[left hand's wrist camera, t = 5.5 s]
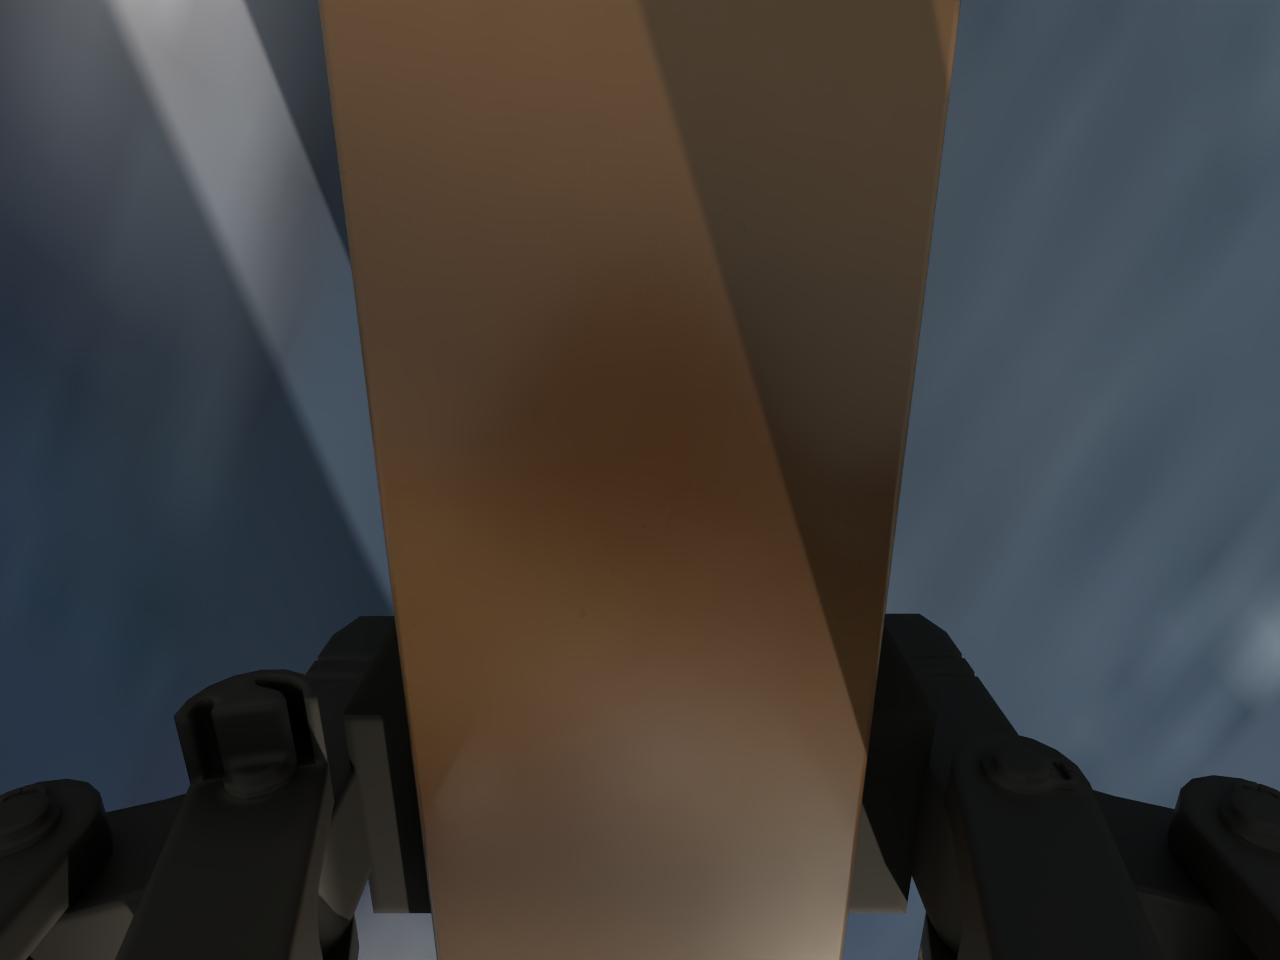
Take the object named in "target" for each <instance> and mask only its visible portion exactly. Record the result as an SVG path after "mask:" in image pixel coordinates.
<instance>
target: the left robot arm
mask: <svg viewBox="0 0 1280 960" xmlns="http://www.w3.org/2000/svg"><path fill="white" fill-rule="evenodd" d="M174 719H175V723H176V727H177V731H178V735H179V740H180V744H181V748H182V752H183V756H184V760H185V764H186V768H187V772H188V776H189V780H190V786H189V789H188V791H187V793H186V794H183V795H179V796H176V797H173V798H169V799H166V800H161V801H156V802H152V803H147V804H143V805H138V806H134V807H129V808H125V809H120V810H116V811H111V812H107V813H106V812H105V809H104V805H103V802H102V799H101V795H100V792H98V791H97V790H96V789H95V788H94V787H93V786H92V785H90V784H89V783H88V782H83V781H77V780H71V779H61V780H53V781H44V782H38V783H35V784H32V785H27V786H25V787H22V788H21V787H20V788H17V789H15V790H12V791H9V792H6V793H4V794H2V795H1V796H0V960H358V952H359V942H358V934H357V927H356V921H355V915H354V912H355V910H356V907H357V905H358V902H359V900H360V897H361V895H362V892H363V890H364V887H365V885H366V882H367V879H369V886H370V892H371V898H372V905H373V911H374V913H431V907H430V899H429V890H428V882H427V874H426V866H425V858H424V850H423V842H422V834H421V826H420V818H419V810H418V802H417V794H416V786H415V777H414V769H413V761H412V753H411V745H410V737H409V729H408V721H407V713H406V705H405V697H404V689H403V681H402V673H401V665H400V656H399V648H398V640H397V632H396V624H395V616H360V617H359V618H357V619H356V620H354V621H353V622H351V623H350V624H348V625H347V626H346V627H344V628H343V629H341V630H340V631H338V632H337V633H335V634H334V635H333V636H332V638H331V639H330V640H329V642H328V643H327V645H326V646H325V648H324V649H323V651H322V652H321V653H320V655H319V656H318V661H315V662H314V663H313V665H312V666H311V668H310V669H309V671H308V672H307V673H306V676H305V675H304V674H301V673H297V672H293V671H289V670H259V671H254V672H249V673H245V674H240V675H236V676H232V677H230V678H228V679H225V680H223V681H220V682H218V683H215V684H213V685H210V686H208V687H207V688H205V689H204V690H202V691H201V692H199V693H198V694H196V695H195V696H193V697H192V698H190V699H189V700H187V701H186V702H185V704H184V705H183V706H182V707H181V708H180V710H179V711H178V712H177V713H176V714H175V716H174ZM911 876H912V877H913V879H914V882H915V884H916V887H917V889H918V892H919V894H920V897H921V899H922V902H923V904H924V907H925V909H926V915H925V921H924V927H923V933H922V939H921V944H920V950H919V956H918V960H1280V792H1279V791H1277V790H1275V789H1273V788H1270V787H1268V786H1265V785H1262V784H1257V783H1256V782H1252V781H1248V780H1244V779H1241V778H1232V777H1224V776H1215V775H1212V776H1206V777H1200V778H1194V779H1192V780H1190V781H1189V782H1188V783H1187V784H1186V785H1185V786H1184V787H1182V788H1181V790H1180V793H1179V796H1178V800H1177V803H1176V806H1175V809H1171V808H1166V807H1162V806H1157V805H1153V804H1148V803H1143V802H1139V801H1134V800H1130V799H1125V798H1121V797H1116V796H1112V795H1109V794H1105V793H1102V792H1098V791H1095V790H1092V787H1091V785H1090V783H1089V782H1088V780H1087V779H1086V777H1085V776H1084V775H1083V773H1082V772H1081V770H1080V769H1079V768H1078V766H1077V765H1076V764H1074V763H1073V762H1072V761H1070V760H1069V759H1068V758H1066V757H1065V756H1064V755H1063V754H1061V753H1060V752H1059V751H1057V750H1055V749H1053V748H1051V747H1049V746H1047V745H1045V744H1043V743H1040V742H1038V741H1036V740H1034V739H1031V738H1027V737H1023V736H1019V735H1018V734H1017V732H1016V731H1015V729H1014V728H1013V726H1012V725H1011V724H1010V722H1009V721H1008V719H1007V718H1006V716H1005V715H1004V714H1003V712H1002V711H1001V709H1000V708H999V707H998V705H997V704H996V702H995V701H994V699H993V698H992V697H991V695H990V694H989V692H988V691H987V689H986V688H985V687H984V685H983V684H982V682H981V681H980V679H979V678H978V677H975V675H974V671H973V669H972V668H971V667H970V665H969V664H968V662H967V661H966V659H965V658H962V654H961V652H960V651H959V649H958V648H957V647H956V645H955V644H954V642H953V641H952V639H951V638H950V637H949V635H948V634H947V632H945V631H944V630H942V629H941V628H939V627H938V626H936V625H935V624H934V623H932V622H931V621H929V620H928V619H926V618H925V617H923V616H922V615H920V614H885V619H884V627H883V635H882V643H881V651H880V659H879V667H878V675H877V683H876V692H875V700H874V708H873V716H872V724H871V732H870V740H869V748H868V756H867V764H866V772H865V781H864V789H863V797H862V805H861V813H860V821H859V829H858V837H857V845H856V853H855V861H854V869H853V878H852V886H851V894H850V902H849V910H848V913H906V908H907V901H908V895H909V889H910V882H911Z"/></svg>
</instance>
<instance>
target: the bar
mask: <svg viewBox="0 0 1280 960" xmlns="http://www.w3.org/2000/svg"><path fill="white" fill-rule="evenodd" d="M318 3H319V11H320V19H321V27H322V35H323V43H324V51H325V59H326V67H327V75H328V84H329V92H330V100H331V108H332V116H333V124H334V132H335V140H336V148H337V156H338V164H339V172H340V180H341V188H342V196H343V205H344V213H345V221H346V229H347V237H348V245H349V253H350V261H351V269H352V277H353V285H354V293H355V301H356V309H357V318H358V326H359V334H360V342H361V350H362V358H363V366H364V374H365V382H366V390H367V398H368V406H369V414H370V422H371V431H372V439H373V447H374V455H375V463H376V471H377V479H378V487H379V495H380V503H381V511H382V519H383V527H384V535H385V543H386V552H387V560H388V568H389V576H390V584H391V592H392V600H393V608H394V616H395V624H396V632H397V640H398V648H399V656H400V665H401V673H402V681H403V689H404V697H405V705H406V713H407V721H408V729H409V737H410V745H411V753H412V761H413V769H414V777H415V786H416V794H417V802H418V810H419V818H420V826H421V834H422V842H423V850H424V858H425V866H426V874H427V882H428V890H429V899H430V907H431V915H432V923H433V931H434V939H435V947H436V955H437V960H842V958H843V950H844V942H845V934H846V926H847V918H848V910H849V902H850V894H851V886H852V878H853V869H854V861H855V853H856V845H857V837H858V829H859V821H860V813H861V805H862V797H863V789H864V781H865V772H866V764H867V756H868V748H869V740H870V732H871V724H872V716H873V708H874V700H875V692H876V683H877V675H878V667H879V659H880V651H881V643H882V635H883V627H884V619H885V611H886V603H887V595H888V587H889V578H890V570H891V562H892V554H893V546H894V538H895V530H896V522H897V514H898V506H899V498H900V489H901V481H902V473H903V465H904V457H905V449H906V441H907V433H908V425H909V417H910V409H911V401H912V392H913V384H914V376H915V368H916V360H917V352H918V344H919V336H920V328H921V320H922V312H923V304H924V295H925V287H926V279H927V271H928V263H929V255H930V247H931V239H932V231H933V223H934V215H935V207H936V198H937V190H938V182H939V174H940V166H941V158H942V150H943V142H944V134H945V126H946V118H947V110H948V101H949V93H950V85H951V77H952V69H953V61H954V53H955V45H956V37H957V29H958V21H959V13H960V4H961V0H318Z"/></svg>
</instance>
